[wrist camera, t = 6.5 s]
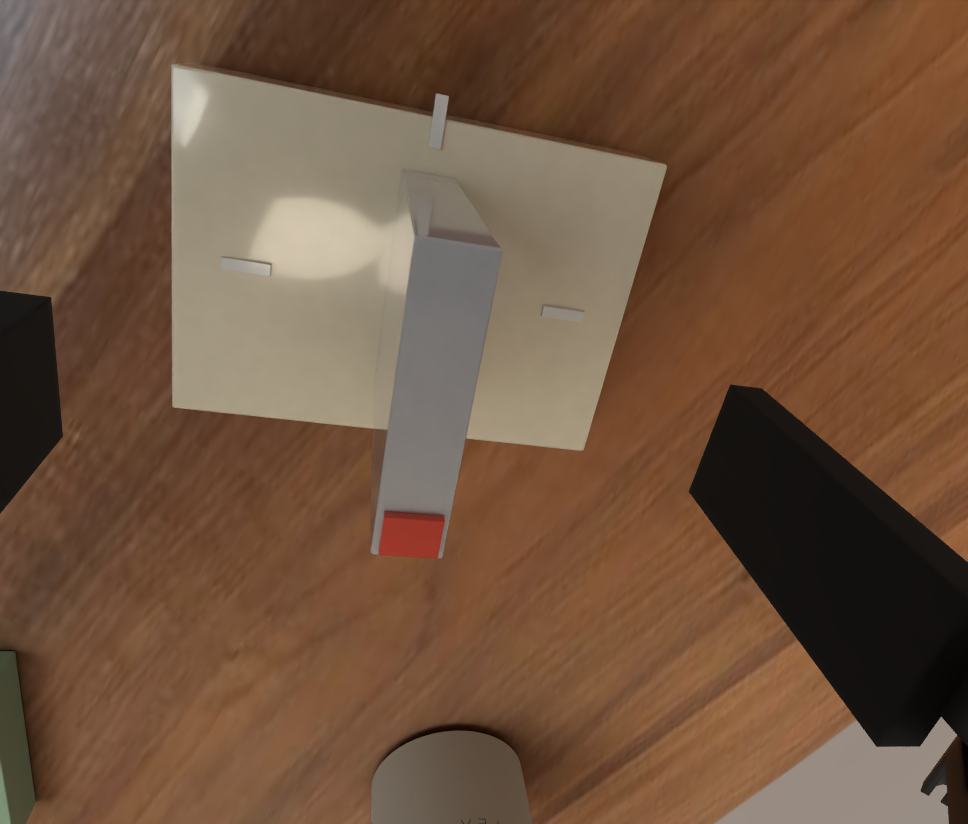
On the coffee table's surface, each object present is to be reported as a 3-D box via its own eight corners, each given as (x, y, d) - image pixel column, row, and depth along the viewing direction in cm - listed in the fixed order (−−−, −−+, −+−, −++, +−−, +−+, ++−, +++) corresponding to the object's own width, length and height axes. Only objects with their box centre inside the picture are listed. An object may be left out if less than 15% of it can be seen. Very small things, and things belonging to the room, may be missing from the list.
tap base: (193, 386, 25) (170, 427, 22) (197, 40, 20) (168, 36, 17) (560, 427, 27) (581, 468, 25) (640, 134, 23) (677, 144, 20)
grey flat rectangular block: (401, 168, 19) (415, 238, 12) (456, 178, 20) (506, 252, 12) (373, 390, 22) (369, 562, 15) (421, 395, 23) (443, 566, 15)
